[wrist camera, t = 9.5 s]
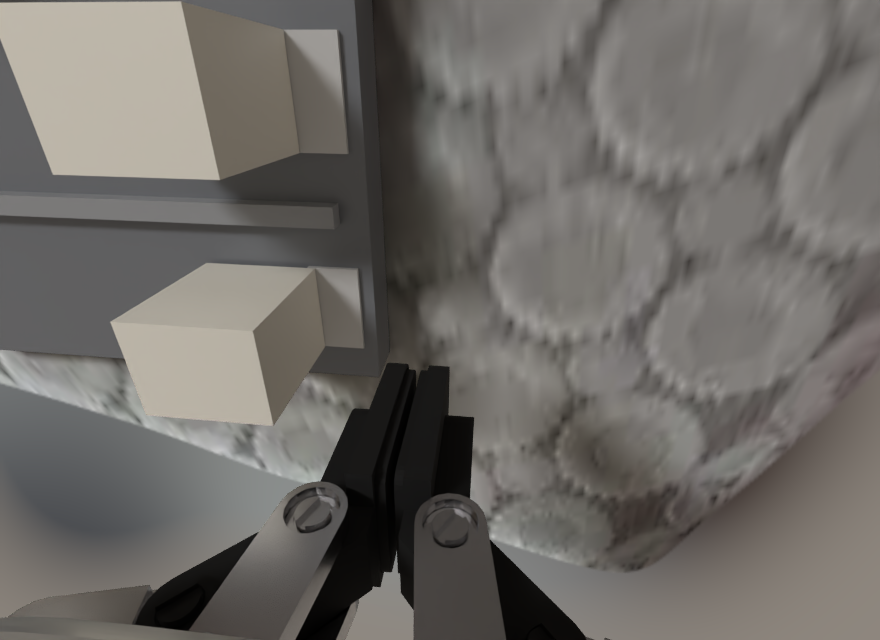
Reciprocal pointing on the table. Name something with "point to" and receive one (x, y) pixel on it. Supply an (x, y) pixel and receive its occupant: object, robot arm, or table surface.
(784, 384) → the table surface
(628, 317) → the table surface
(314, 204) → the switch bank
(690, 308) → the table surface
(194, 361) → the tab
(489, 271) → the table surface
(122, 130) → the tab
